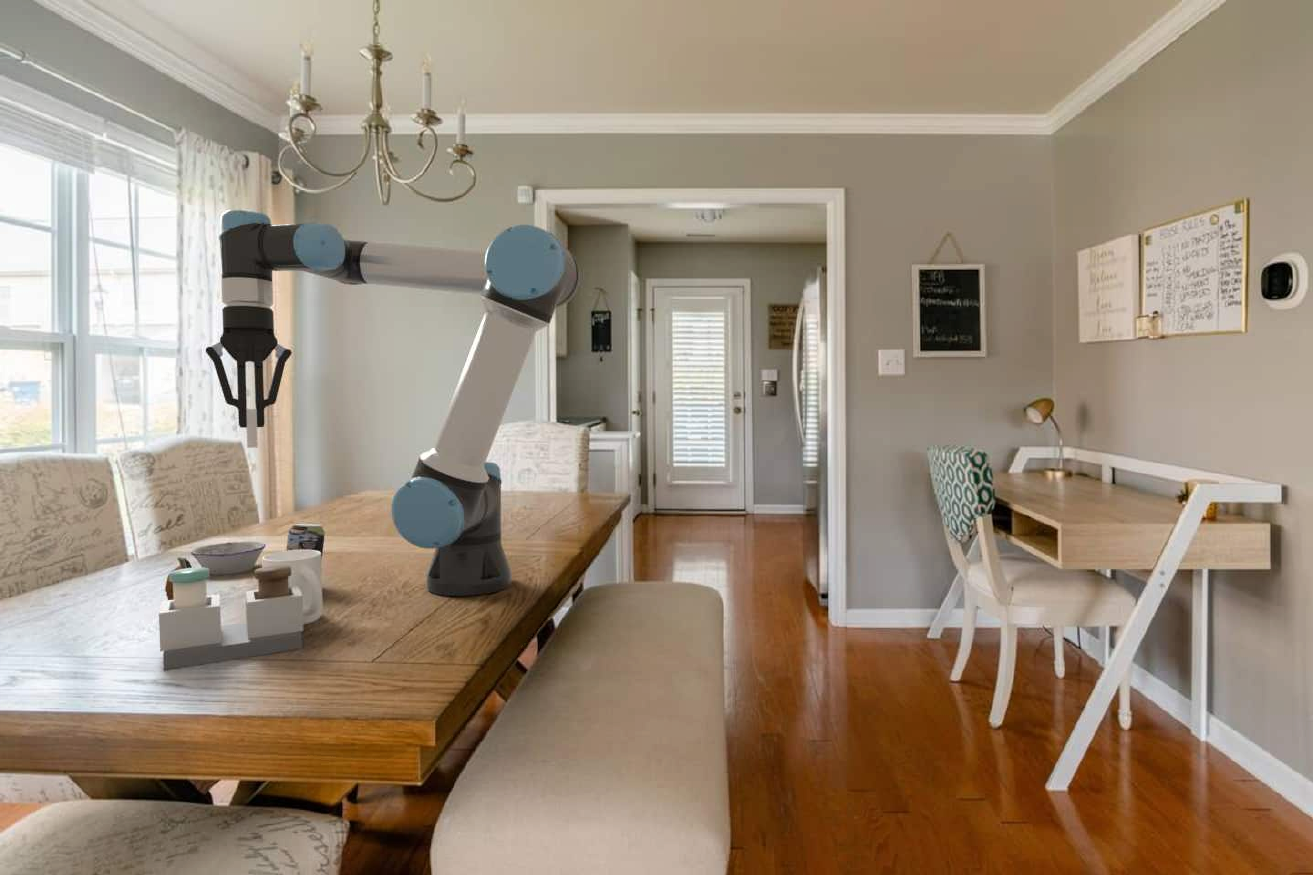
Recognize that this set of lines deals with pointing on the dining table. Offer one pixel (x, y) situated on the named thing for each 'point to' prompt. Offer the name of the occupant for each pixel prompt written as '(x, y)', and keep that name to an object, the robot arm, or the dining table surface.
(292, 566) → the mug
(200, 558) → the bowl
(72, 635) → the dining table surface
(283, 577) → the walnut plug
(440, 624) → the dining table surface
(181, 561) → the rock
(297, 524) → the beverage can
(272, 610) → the white plug holder
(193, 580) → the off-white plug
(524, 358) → the robot arm
